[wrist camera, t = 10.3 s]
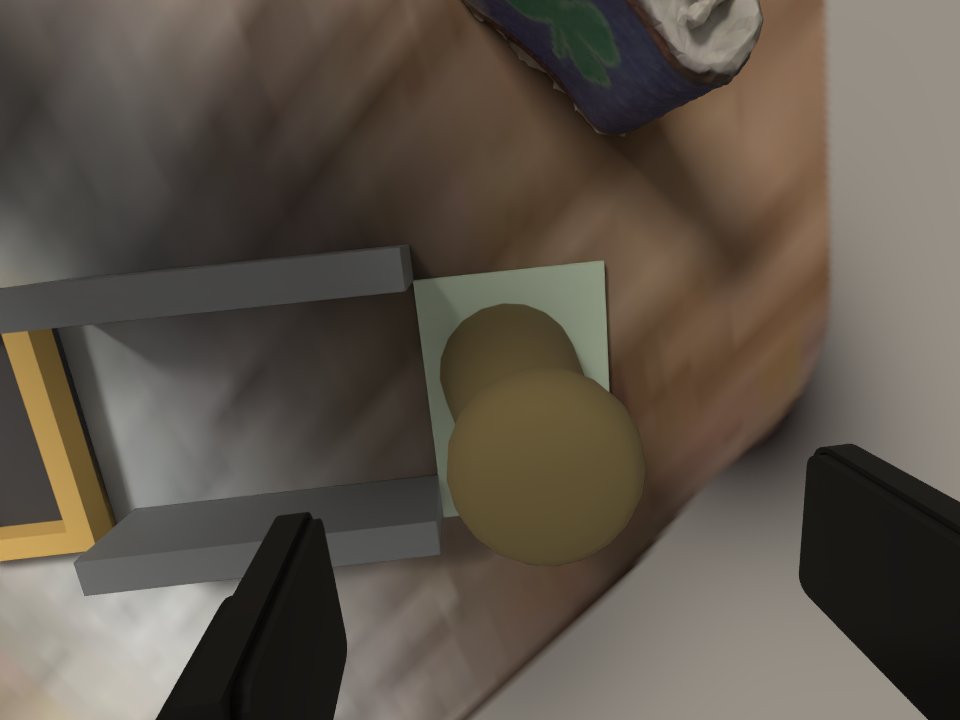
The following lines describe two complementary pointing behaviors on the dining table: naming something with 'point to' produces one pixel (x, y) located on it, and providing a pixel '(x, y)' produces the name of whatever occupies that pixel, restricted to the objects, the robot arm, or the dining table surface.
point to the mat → (550, 289)
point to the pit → (45, 454)
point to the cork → (535, 440)
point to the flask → (628, 50)
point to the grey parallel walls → (245, 520)
